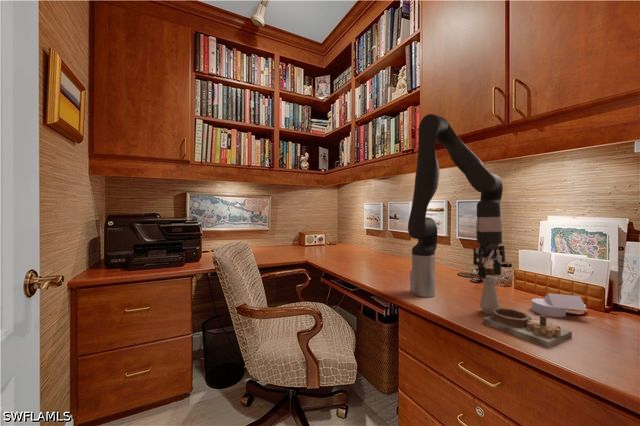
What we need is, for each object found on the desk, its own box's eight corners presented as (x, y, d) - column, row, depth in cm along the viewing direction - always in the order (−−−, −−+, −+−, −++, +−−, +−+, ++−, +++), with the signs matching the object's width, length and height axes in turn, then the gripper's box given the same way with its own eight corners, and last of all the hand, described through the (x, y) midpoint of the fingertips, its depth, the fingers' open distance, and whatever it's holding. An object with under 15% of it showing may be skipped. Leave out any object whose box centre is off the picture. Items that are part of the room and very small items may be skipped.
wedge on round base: (573, 311, 91) (528, 306, 97) (573, 292, 91) (528, 288, 97) (587, 321, 83) (536, 314, 88) (587, 300, 83) (536, 295, 88)
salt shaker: (496, 317, 86) (496, 278, 86) (477, 312, 91) (477, 275, 91) (501, 312, 90) (501, 275, 90) (483, 308, 95) (483, 273, 95)
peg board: (482, 323, 82) (482, 305, 82) (506, 315, 88) (506, 298, 88) (548, 347, 67) (548, 326, 67) (571, 336, 73) (571, 316, 73)
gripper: (490, 228, 97) (491, 272, 97) (465, 230, 91) (466, 276, 90) (512, 229, 90) (513, 276, 90) (487, 231, 84) (488, 281, 84)
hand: (489, 276), depth 90 cm, fingers open, 8 cm apart
